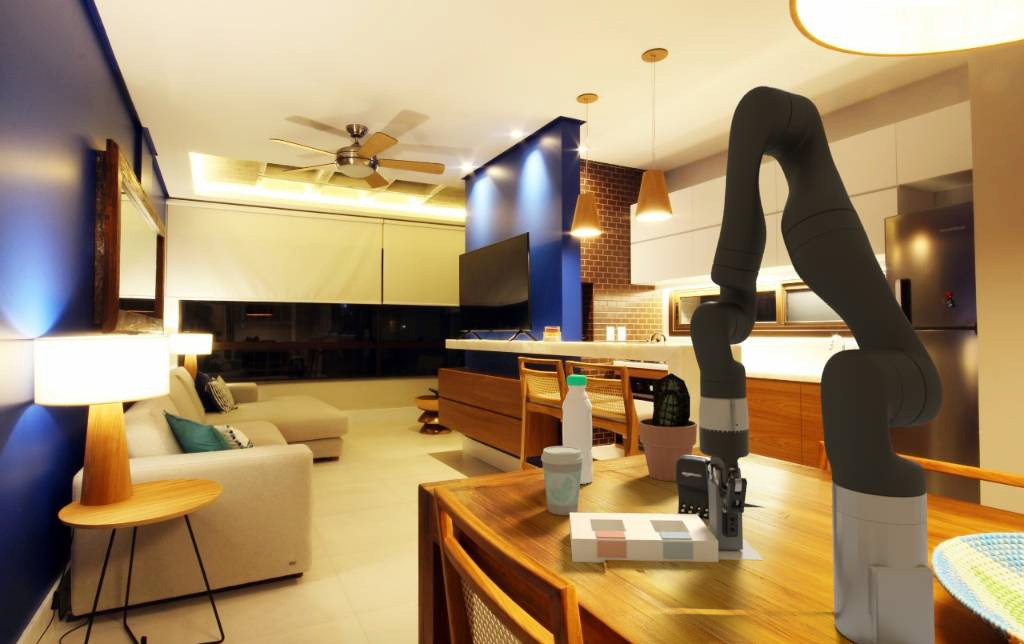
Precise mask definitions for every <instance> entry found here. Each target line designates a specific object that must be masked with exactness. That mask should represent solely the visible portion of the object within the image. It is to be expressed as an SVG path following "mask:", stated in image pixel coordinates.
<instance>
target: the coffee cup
mask: <svg viewBox="0 0 1024 644" xmlns="http://www.w3.org/2000/svg"><path fill="white" fill-rule="evenodd" d="M540 457H541V458H540V461H541V462H542V469H543V470H542V471H543V479H544V486H545V488H544V489H545V495H546V504H547V510H548V511H547V512H549V513H550V514H554V515H556V514H557V515H558V516H570V512H572V513H578V508H579V500H580V498H579V497H580V491H581V490H580V487H581V485H580V480H581V470H582V462H583V461H584V459H583V455H582V452H581V450H580V449H579V448H576V447H570V446H563V445H555V446H554V445H553V446H548V447H545V448H543V450H542V454H541V456H540ZM557 515H556V516H557Z"/></svg>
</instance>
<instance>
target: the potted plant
mask: <svg viewBox="0 0 1024 644" xmlns="http://www.w3.org/2000/svg"><path fill="white" fill-rule="evenodd" d="M652 398H653V399H652V400H653V401H652V402H653V405H652V408H653V411H652V417H651V418H650V417H649V418H643V419H640V420H638V432H639V442H640V443H642V445H643V451H644V456H645V460H646V461H645V462H646V465H647V470H648V471H647V472H648V475H649V476H650V477H651V478H652V479H655V480H658V481H663V482H664V481H665V482H676V462H677V460H678V459H679V458H680V457H681V456H683V455H693V449H694V446H695V445H696V444H697V434H698V433H697V431H698V423H696V421H694V420H690V417H691V395H690V393H689V390H688V387H687V385H686V382H685V380H684V379H683V378H681V377H678V376H677V375H675V374H673V373H672V372H671V373H669V374H667V375H664V376H663V377H661V378H659V379H658V380H657V384H656V385H655V389H654V392H653V394H652Z"/></svg>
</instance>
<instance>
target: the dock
mask: <svg viewBox="0 0 1024 644" xmlns="http://www.w3.org/2000/svg"><path fill="white" fill-rule="evenodd" d="M569 536H570V537H569V539H570V548H571V559H572V563H597V564H598V563H600V564H601V563H603V564H605V563H607V562H606V561H643V562H644V561H646V562H647V561H648V562H649V561H653V562H654V561H655V562H693V563H695V562H697V563H699V562H700V563H704V562H705V563H719V560H720V559H718V540H717V539H716V538H715V536H714V535H713V534H712V533H711V531H710V530H709V527H708V526H707V525H706V524H705V522H704V521H703V520H702V518H700V517H699V516H698V515H697V514H679V513H643V512H642V513H634V512H633V513H628V512H576V513H572V512H570V515H569Z"/></svg>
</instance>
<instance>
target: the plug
mask: <svg viewBox="0 0 1024 644" xmlns="http://www.w3.org/2000/svg"><path fill="white" fill-rule="evenodd" d="M708 483H709V519H708V522H709V523H708V529H709V530H710V531H711V533H712V534H713V535H714V536H715V538H716V539H717V540H718V549H724V550H743V538H744V537H743V535H744V534H743V528H744V527H743V513H738V536H737V537H725V536H724V535H723V533H722V510H721V508H722V507H721V498H720V497H719V496H718V486H717V485H716V479H715V478H714V480H711V479H708ZM722 490H723V492H727V489H723V487H722ZM731 505H734V501H732V504H731Z"/></svg>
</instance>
